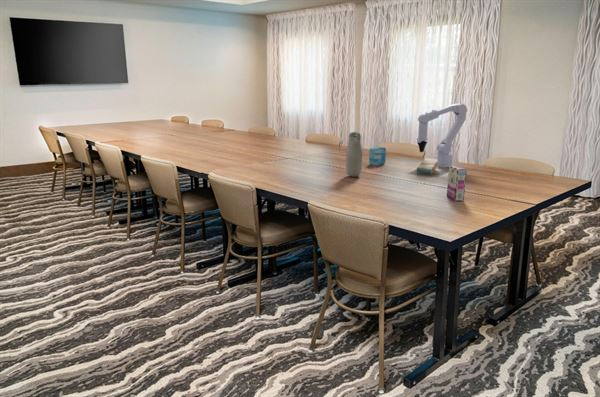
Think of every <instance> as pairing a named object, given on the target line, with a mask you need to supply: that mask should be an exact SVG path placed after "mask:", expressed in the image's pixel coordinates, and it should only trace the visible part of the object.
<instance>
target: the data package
mask: <svg viewBox="0 0 600 397" xmlns="http://www.w3.org/2000/svg"><path fill="white" fill-rule="evenodd" d="M386 151H387V149H386V147H382V146H378V147H377V146H376V147H371V148H369V153H368V154H369V156H368V165H370V166H381V165H385V163H386V155H387V154H386V153H387V152H386Z"/></svg>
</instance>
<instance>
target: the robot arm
mask: <svg viewBox="0 0 600 397" xmlns="http://www.w3.org/2000/svg"><path fill="white" fill-rule="evenodd" d="M450 112H451V113H452V112H453V113H454V115H455V118H456V119H455V120H454V123H453V125H452V126H451V128H450V130H449V131H448V132H447V135H445V138H444V139H442V140H441V141H440V143H439V144H438V145H437V146H436V149H437V161H436V162H437V168H449V166H453V154H452V153H450V152H451V150H452V146H453V142H454V140H455V138H456V136H457V134H458V133H459V131H460V130H461V128H462V127H463V125H464V123H465V122H466V119H467V112H468V108H467V106H466V104H464V103H457V102H456V103H454V104H450V105H448V106H445V107H443V108H441V109H438V110H437V109H431V111H428V112H427V111H426V112H424V113H421V114H420V115H419V116H418V118H417V121H418V135H417V136H418V138H416V140H417V141H416V143H417V145H418V149H419V152H420V153H424V152H425V149H426V146H427V143H428V126H429V125H428V124H429V122H431V121H434V120H436V119H439V117H440V116H441V115H444V114H448V113H450Z"/></svg>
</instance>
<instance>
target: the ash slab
mask: <svg viewBox="0 0 600 397" xmlns="http://www.w3.org/2000/svg"><path fill="white" fill-rule="evenodd" d="M437 168H438V166H437V161H432V160H423V161H422V162H420V164H419V165H418V166H417V167H416V170H417V174H422V175H432V173H433V172H434V171H435V170H438V169H437Z"/></svg>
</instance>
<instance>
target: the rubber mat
mask: <svg viewBox="0 0 600 397" xmlns="http://www.w3.org/2000/svg"><path fill="white" fill-rule="evenodd" d="M447 173H448V171H446V170H438V169H436V170H435V171H434V172H433V173H432V175H422V174H417V169H415V170H412V171H410V172H408V173H407V174H408V175H415V176H422V177H423V176H424V177H429V178H439V177H442V176H443V175H446V174H447Z"/></svg>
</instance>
